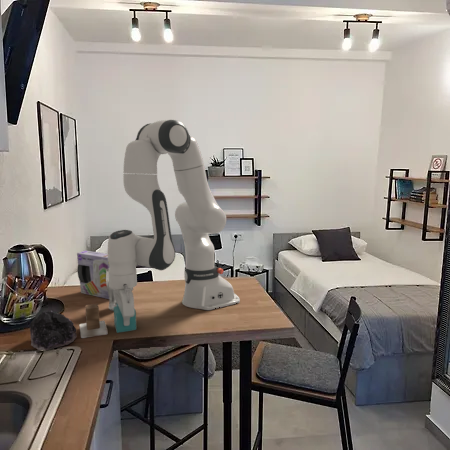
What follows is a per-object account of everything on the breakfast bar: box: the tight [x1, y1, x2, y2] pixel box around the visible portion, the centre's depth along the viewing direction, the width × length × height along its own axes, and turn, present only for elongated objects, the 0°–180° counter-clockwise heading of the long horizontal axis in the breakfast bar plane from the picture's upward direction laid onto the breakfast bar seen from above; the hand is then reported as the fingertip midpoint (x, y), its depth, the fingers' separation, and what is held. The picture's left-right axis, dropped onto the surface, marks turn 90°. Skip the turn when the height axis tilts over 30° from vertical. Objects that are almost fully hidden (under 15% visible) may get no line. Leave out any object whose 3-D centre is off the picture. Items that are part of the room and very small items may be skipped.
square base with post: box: [79, 303, 108, 339], centre depth 132 cm, size 8×8×8 cm
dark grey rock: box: [29, 310, 77, 351], centre depth 125 cm, size 13×14×10 cm
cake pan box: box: [76, 250, 110, 300], centre depth 166 cm, size 19×5×18 cm, turn 58°
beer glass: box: [106, 268, 118, 312], centre depth 152 cm, size 7×7×15 cm
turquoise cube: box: [113, 306, 137, 333], centre depth 135 cm, size 6×6×7 cm
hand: (124, 320), depth 135 cm, fingers closed on turquoise cube, 6 cm apart
